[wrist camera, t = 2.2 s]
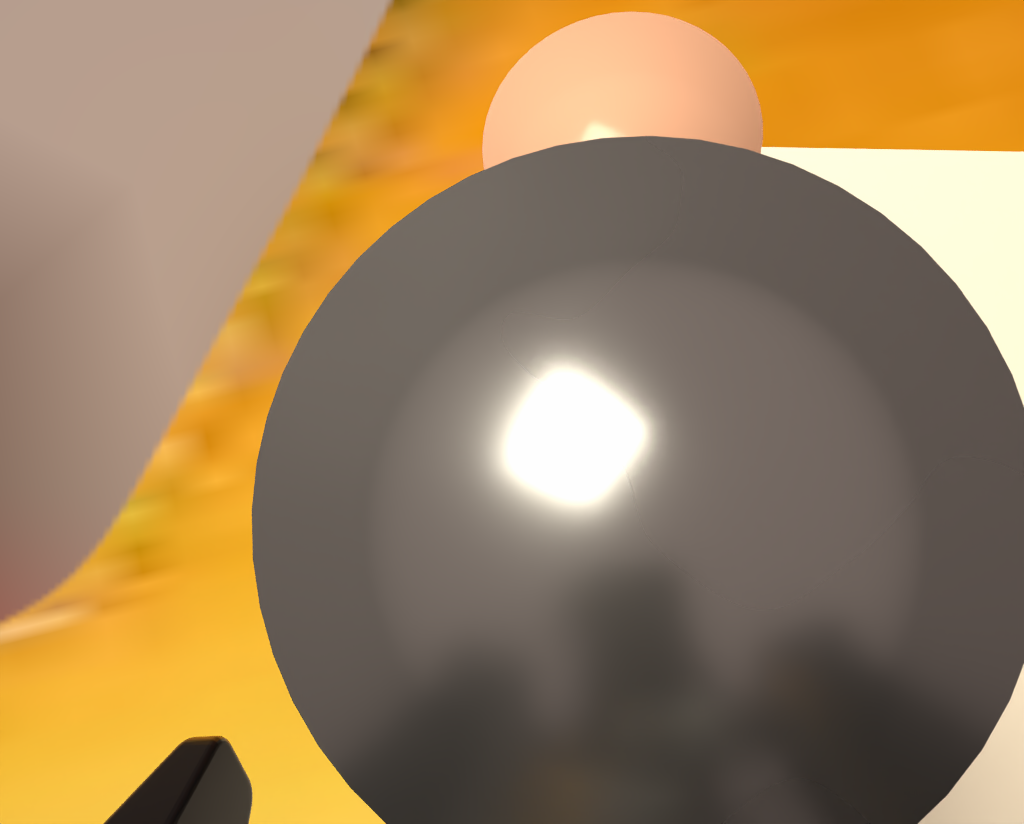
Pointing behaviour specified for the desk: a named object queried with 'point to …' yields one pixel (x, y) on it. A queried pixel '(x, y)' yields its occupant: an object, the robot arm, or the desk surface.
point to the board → (1008, 316)
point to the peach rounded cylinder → (622, 88)
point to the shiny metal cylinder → (645, 503)
